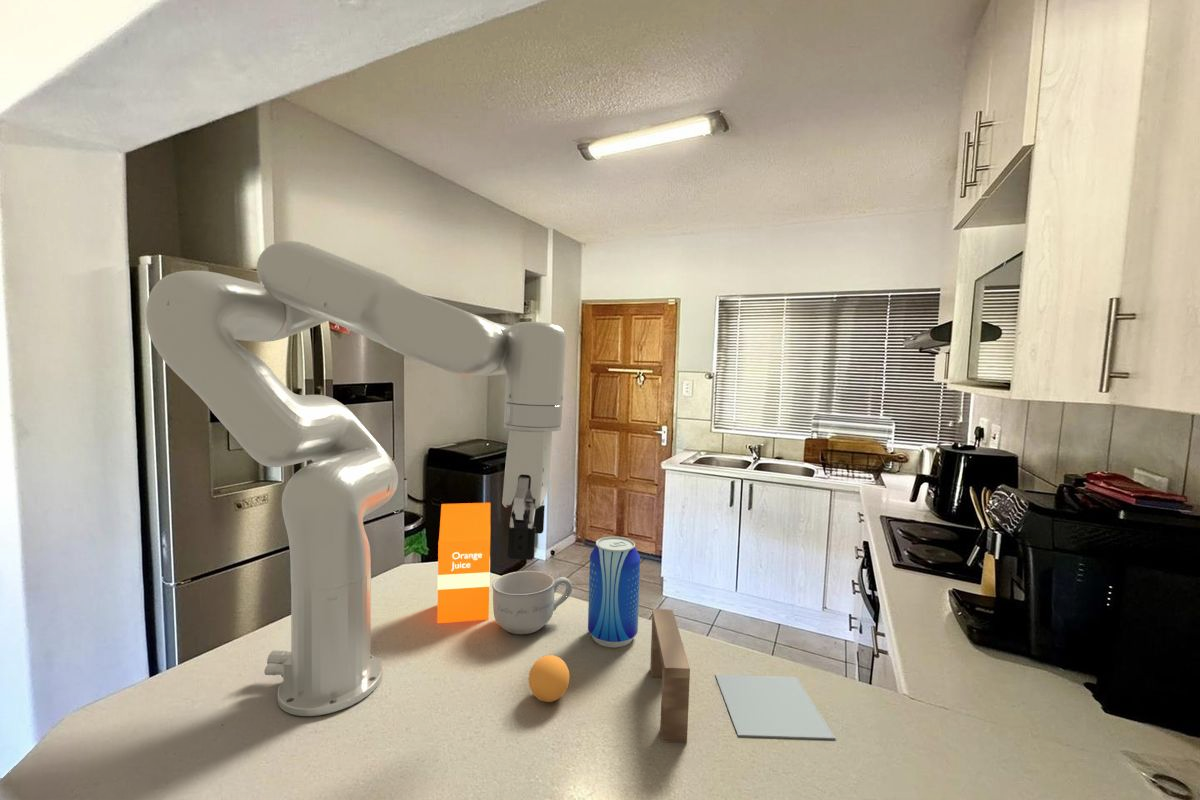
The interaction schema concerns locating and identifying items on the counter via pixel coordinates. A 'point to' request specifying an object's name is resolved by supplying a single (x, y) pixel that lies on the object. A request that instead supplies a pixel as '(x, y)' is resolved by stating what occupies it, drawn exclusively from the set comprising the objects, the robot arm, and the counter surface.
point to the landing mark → (771, 707)
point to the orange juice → (464, 562)
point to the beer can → (614, 591)
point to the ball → (549, 678)
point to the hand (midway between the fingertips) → (526, 544)
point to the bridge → (670, 675)
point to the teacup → (526, 600)
